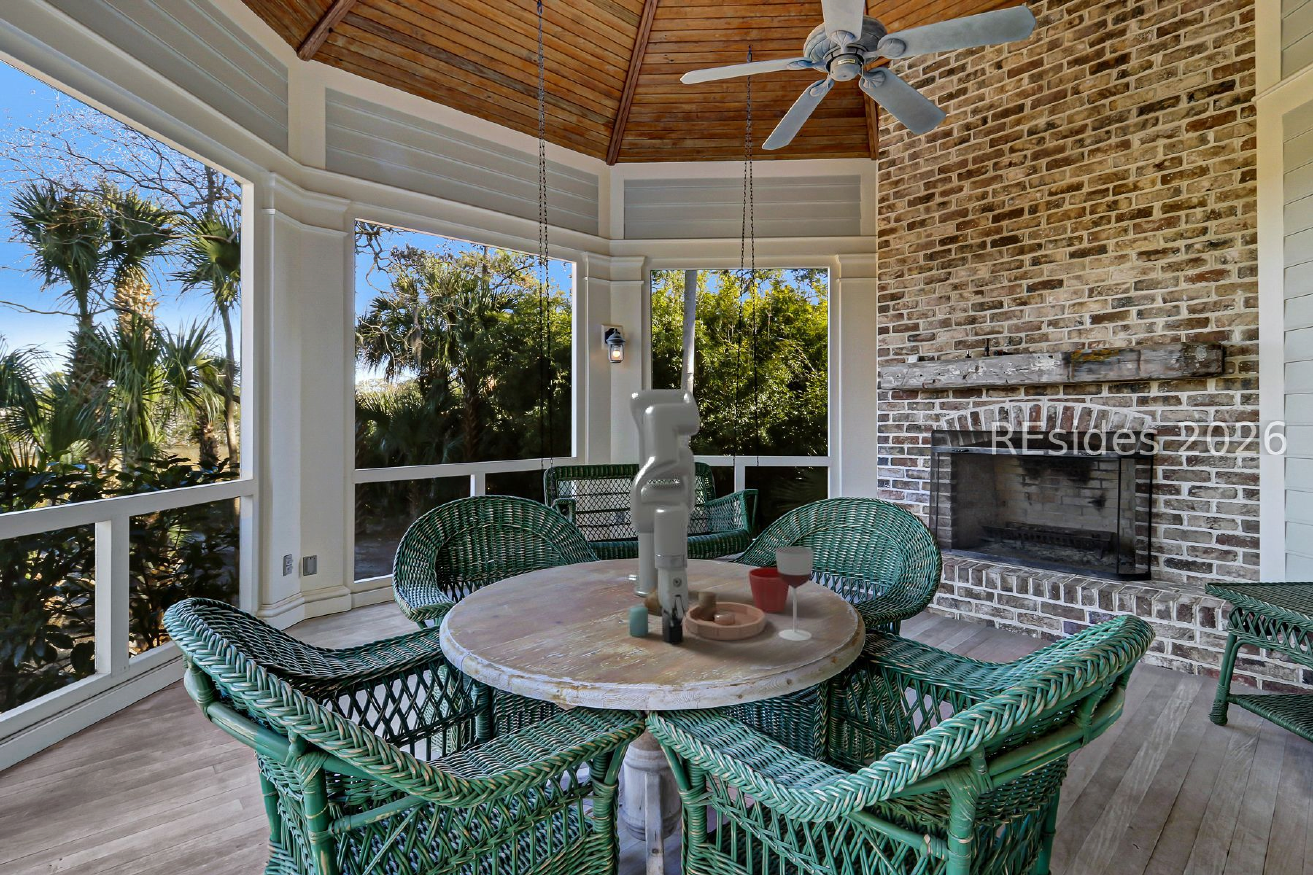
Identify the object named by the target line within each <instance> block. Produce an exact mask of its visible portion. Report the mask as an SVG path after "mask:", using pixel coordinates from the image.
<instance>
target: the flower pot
mask: <svg viewBox="0 0 1313 875" xmlns="http://www.w3.org/2000/svg"><path fill="white" fill-rule="evenodd" d="M748 578H749V583H750V589H751V590H750V591H751V595H752V600H753V604H754V607H756V608H758V609H760V610H762V611H763V613H764V614H765V613H767V614H775V613H779V612H780V613H781V612H784V611H785V609H786V604H787V599H788V593H789V589H790V585H788V584H786V583H785V582H783V581H782V580H781V578H780V576H779V573H778V568H777V567H758V568H753V569H751V570H749V572H748Z"/></svg>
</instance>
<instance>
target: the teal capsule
mask: <svg viewBox="0 0 1313 875" xmlns="http://www.w3.org/2000/svg"><path fill="white" fill-rule="evenodd" d="M628 610H629V613H628V614H629V635H630V637H634V638H644V637H647V636H649V613H648V608H647V607H644V605H643V606H642V605H640V606H639V605H637V606H632V607H629V609H628Z"/></svg>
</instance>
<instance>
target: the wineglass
mask: <svg viewBox="0 0 1313 875" xmlns="http://www.w3.org/2000/svg"><path fill="white" fill-rule="evenodd" d="M775 560H776V566H777V567H776V568H778V573H779V576H780V578H781V580H782V581H783V582H785V583H786V584H788V585H789V587H792V600H793V602H792V604H793V605H792V613H793V616H792V618H793V623H792V624H793V629H792V628H789V629H784V630H781V631H779V632H778V636H779V637H780V638H782V639H785V640H788V641H794V642H795V641H796V642H797V641H798V642H799V641H806V640H809V639H811V638H812V634H811V633H810V632H809V631H806V630H803V629H797V627H798V626H797V624H798V622H797V619H798V617H797V616H798V614H797V612H798V611H797V607H798V606H797V605H798V604H797V588H798V587H801V586H803V585H805V584H807V583H808V582H809V580H811V576H812V571H813V565H814V564H813V563H814V550H813V549H811V548H809V547H803V546H802V547H801V546H780V547H777V548H775Z"/></svg>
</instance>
